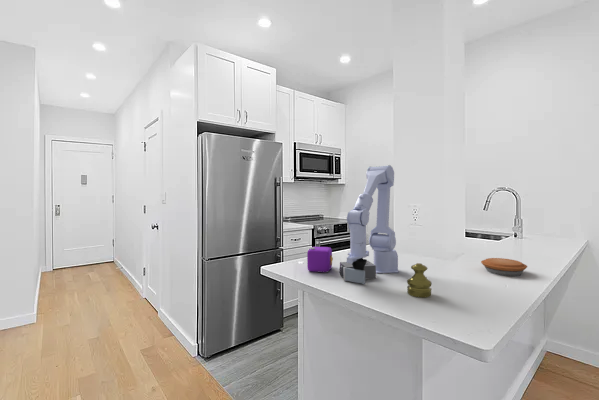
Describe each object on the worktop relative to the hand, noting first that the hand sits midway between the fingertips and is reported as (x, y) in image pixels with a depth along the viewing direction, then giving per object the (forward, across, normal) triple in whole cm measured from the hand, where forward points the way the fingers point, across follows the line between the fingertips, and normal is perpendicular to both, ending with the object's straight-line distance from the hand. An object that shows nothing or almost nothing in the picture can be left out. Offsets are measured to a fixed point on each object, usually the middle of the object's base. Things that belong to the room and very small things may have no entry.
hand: (358, 278), depth 110 cm
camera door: (+1, +1, -1) cm, 2 cm away
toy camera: (+2, -8, -22) cm, 24 cm away
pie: (+2, -46, +42) cm, 62 cm away
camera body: (+1, -7, -4) cm, 8 cm away
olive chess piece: (+2, 0, +22) cm, 22 cm away
